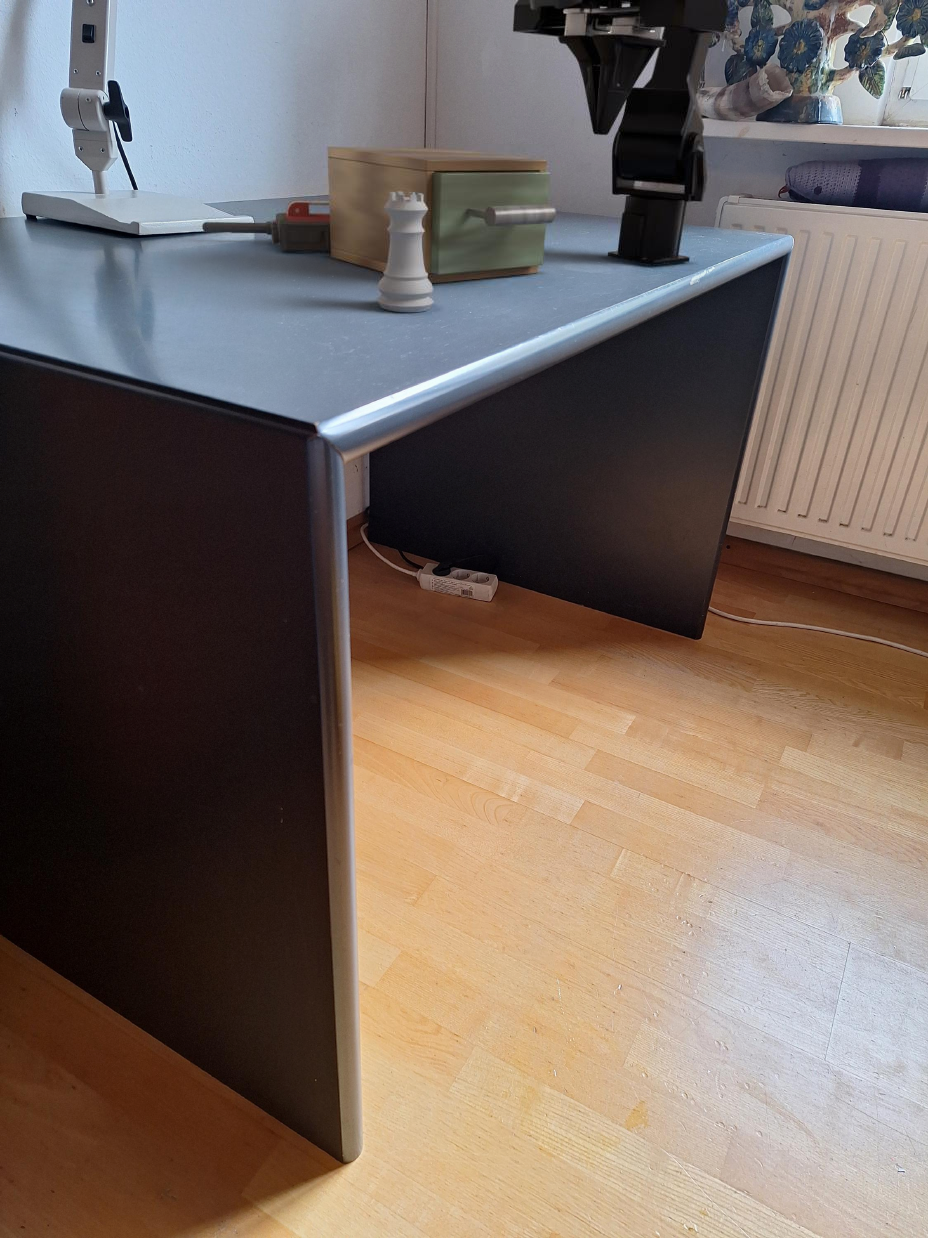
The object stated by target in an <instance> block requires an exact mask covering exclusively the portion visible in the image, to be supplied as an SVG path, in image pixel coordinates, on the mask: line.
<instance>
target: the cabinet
mask: <svg viewBox="0 0 928 1238" xmlns="http://www.w3.org/2000/svg"><path fill="white" fill-rule="evenodd" d="M326 149H327V178H328V179H327V181H328V201H329V205H328V207H329V208H328V209H329V214H330V242H331V252H330V257H331V258H333V259H336V260H338V261H339V260H340V261H343V262H347V263H350V264H353V265H357V266H359V267H364V268H366V269H367V268H368V269H371V270H373V271H374V270H375V271H377V272H381V273H383V272H384V271H385V270H386V267H387V263H388V256H389V248H390V233H389V231H388V230H387V229H388V227H389V226H390V222H391V220H390V216H389V214H388V213H387V211H386V209H385V208H384V206H385V205H386V203H387V202H388V200H389V192H395V194H396V192H403V194H404V197H408V192H415V195H417V193H422V194H423V202H424V203H425V205H426V206H427V208H428V210H427V212H426V213H425V215H424V216H423V218H422V228H423V229H424V231H425V232H424V233H423V234H422V252H423V262H424V267H425V271H426V272H427V273H428V277H427V278H428V280H429V281H430V282H431V284H440V283H441V284H442V283H450V282H459V281H469V280H480V279H481V280H482V279H489V278H490V279H491V278H501V277H511V276H520V275H532V274H537V273H538V271H539V266H528V267H517V268H506V269H495V270H484V271H474V272H463V273H452V274H441V275H438V274H434V273H431V227H432V182H433V173H434V171H513V172H547V164H548V160H547V159H541V158H531V157H524V156H515V155H505V154H497V153H488V152H479V151H471V150H462V149H453V148H444V147H436V148H435V147H371V146H370V147H368V146H367V147H365V146H364V147H362V146H361V147H359V146H350V147H349V146H328V147H327V148H326Z"/></svg>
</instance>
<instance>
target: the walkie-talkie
mask: <svg viewBox="0 0 928 1238" xmlns="http://www.w3.org/2000/svg"><path fill="white" fill-rule="evenodd" d="M310 205H311V206H329V200H301V199H295V200H291V201H289V203H288V204H287V205H286V209H285V211H286V212H279V213H278V212H277V213H276V214H275V218H274V219H271V220H270V221H266V222H237V221H235V222H232V221H231V222H229V221H226V222H225V221H205V222H203V223H202V226H201V228H202V231H203V232H205V233H230V234H266V235H267V236H271V243H272V244H273V245H279V247H280V248H281V250H282V251H283V252H284V253H285V252H286V253H331V242H330V213H326V212H325V213H324V212H323V213H319V212H318V213H317V212H310Z"/></svg>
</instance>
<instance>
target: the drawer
mask: <svg viewBox="0 0 928 1238" xmlns="http://www.w3.org/2000/svg"><path fill="white" fill-rule="evenodd" d="M550 181H551V172H548V171H546V172H513V171H434V173H433V182H432V227H431V273H434V274H438V275H441V274H452V273H463V272H474V271H484V270H495V269H506V268H517V267H528V266H538V267H539V266H543V264H544V263H543V262H544V253H545V251H544V250H545V239H546V229H547V224H552V223H553V222H554V221H555V219H556V215H557V214H556V213H557V211H556V208H555V206H554V205H553V204H550V203H549V193H550V183H551V182H550Z"/></svg>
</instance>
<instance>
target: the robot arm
mask: <svg viewBox="0 0 928 1238" xmlns="http://www.w3.org/2000/svg"><path fill="white" fill-rule="evenodd" d="M623 5H629V6H623ZM728 11H729V4H728V1H727V0H517V1H516V3H515V4H514V9H513V25H512V26H513V27H512V32H513V33H519V34H520V33H521V34H529V35H537V36H538V35H539V36H547V37H557V40H558V42H559V44H562V45H566V46H567V48H568V49H569V51H570V52H571V54H572V55H573V56H574V57H575V59H576V61H577V63H578V67H579V70H580V74H581V77H582V81H583V82H582V83H583V86H584V91H585V96H586V97H585V98H586V103H587V108H588V113H589V118H590V124H591V128H592V133H593V135H599V136H607V135H609V133H610V132H611V129H612V127H613V126H614V124H615V122H616V120H617V119H618V116H619V115H620V112H621V111H622V109H623V107H624V111H623V115H622V117H621V121H620V124H619V126H618V128H617V131H616V133H615V136H614V138H613V142H612V146H611V147H612V148H611V194H612V195H613V196H620V195H623V196H625V200H624V202H625V203H624V210H623V212H622V213H621V221H620V228H619V234H618V235H619V237H618V244H617V250H614V251H613V250H612V251H607V257H609V258H612V259H613V258H614V259H619V260H623V261H629V262H633V263H638V264H642V265H646V266H647V265H649V266H660V265H670V264H679V263H687V262H688V263H689V262H690V256H686V255H681V254H680V248H681V243H682V242H681V241H682V236H683V229H684V223H685V218H686V211H687V203H691V202H698V203H699V202H700V203H701V202H703V201H704V196H705V193H706V191H707V190H706V189H707V182H708V169H707V161H706V150H705V141H704V136H703V135H704V130H705V123H704V121H703V117H702V112H701V109H700V105H699V102H698V98H697V95H698V90H699V86H700V82H701V78H702V75H703V71H704V67H705V64H706V60H707V56H708V52H709V49H710V44H711V41H712V37H713V34H723V33H725V30H726V24H727V18H728ZM662 28H663V32H662ZM661 33H662V35H661ZM657 49H658V51H657ZM656 51H657V55H656V58H655V62H654V67H653V71H652V74H651V77H650V78H649V80H648V81H646V83H645V84H644V85H643V87H636V86H635V85H636V83H637V81H638V80H639V78H640V77H641V75H642V74H643V72H644V70H645V68H646V67H647V65H649V62H650V61H651V59H652V58H653V56H654V54H655V53H656ZM624 105H625V106H624ZM636 182H641V183H652V184H653V183H654V184H662V185H663V184H664V185H674V186H684V187H683V189H676V188H675V189H674V188H663V187H652V186H642V185H641V186H640V185H635V184H636Z"/></svg>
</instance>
